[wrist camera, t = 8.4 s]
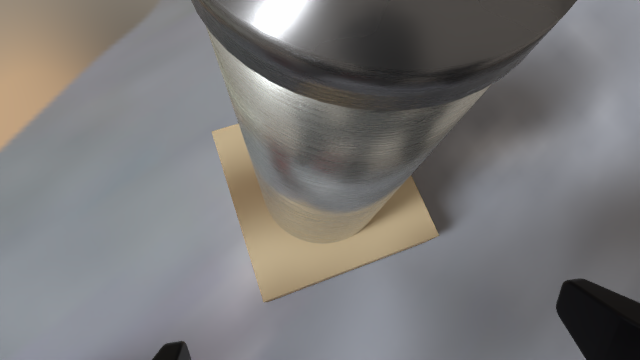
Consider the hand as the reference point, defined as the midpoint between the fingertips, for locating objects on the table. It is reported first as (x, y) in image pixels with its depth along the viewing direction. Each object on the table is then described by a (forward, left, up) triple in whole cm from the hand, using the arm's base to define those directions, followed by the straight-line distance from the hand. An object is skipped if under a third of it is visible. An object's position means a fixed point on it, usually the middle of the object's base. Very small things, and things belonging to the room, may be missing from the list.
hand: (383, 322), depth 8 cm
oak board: (+6, -1, -11) cm, 13 cm away
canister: (+6, -1, -8) cm, 11 cm away
